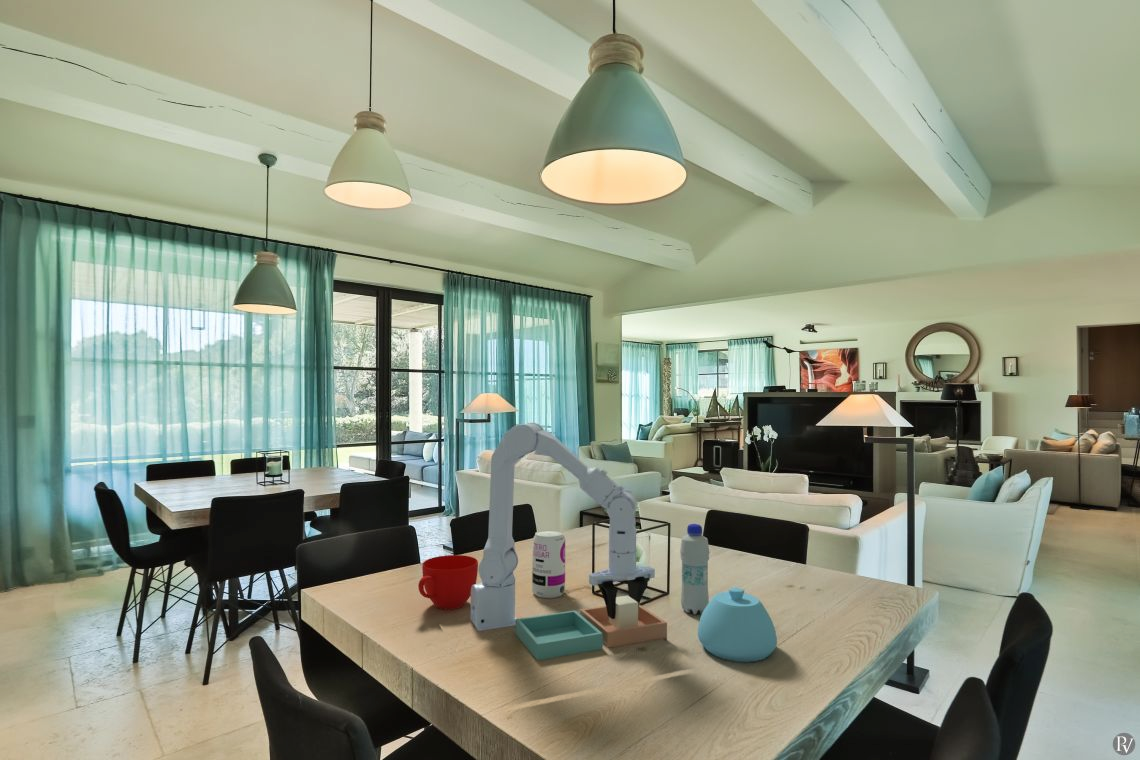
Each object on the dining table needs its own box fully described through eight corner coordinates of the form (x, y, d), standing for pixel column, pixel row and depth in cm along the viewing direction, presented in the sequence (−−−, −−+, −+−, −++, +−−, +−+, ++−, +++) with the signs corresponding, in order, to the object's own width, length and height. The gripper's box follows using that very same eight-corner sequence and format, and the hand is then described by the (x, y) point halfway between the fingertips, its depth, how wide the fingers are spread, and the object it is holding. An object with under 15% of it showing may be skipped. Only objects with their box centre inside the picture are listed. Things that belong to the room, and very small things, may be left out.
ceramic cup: (397, 614, 134) (398, 569, 134) (446, 592, 149) (446, 552, 149) (442, 624, 128) (443, 577, 128) (488, 600, 143) (488, 559, 143)
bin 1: (537, 663, 109) (537, 644, 109) (515, 636, 122) (515, 619, 122) (602, 651, 114) (602, 633, 114) (575, 626, 127) (575, 610, 127)
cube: (618, 630, 120) (618, 605, 120) (608, 622, 124) (608, 598, 125) (638, 626, 122) (638, 602, 122) (627, 619, 126) (627, 595, 126)
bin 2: (607, 650, 115) (607, 632, 115) (580, 626, 127) (580, 609, 127) (666, 640, 120) (666, 622, 120) (634, 617, 132) (634, 601, 132)
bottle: (710, 617, 132) (709, 527, 133) (679, 615, 134) (679, 526, 134) (709, 607, 139) (709, 521, 140) (680, 604, 140) (680, 520, 141)
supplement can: (566, 588, 152) (566, 530, 152) (563, 599, 144) (563, 537, 144) (535, 587, 153) (535, 529, 153) (529, 598, 144) (530, 536, 145)
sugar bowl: (760, 632, 124) (760, 577, 125) (789, 665, 109) (789, 601, 110) (689, 633, 124) (689, 577, 124) (709, 666, 109) (709, 602, 109)
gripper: (599, 558, 118) (599, 627, 117) (662, 551, 123) (662, 617, 123) (584, 549, 124) (584, 615, 124) (645, 543, 130) (645, 606, 129)
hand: (622, 615), depth 124 cm, fingers closed on cube, 4 cm apart
